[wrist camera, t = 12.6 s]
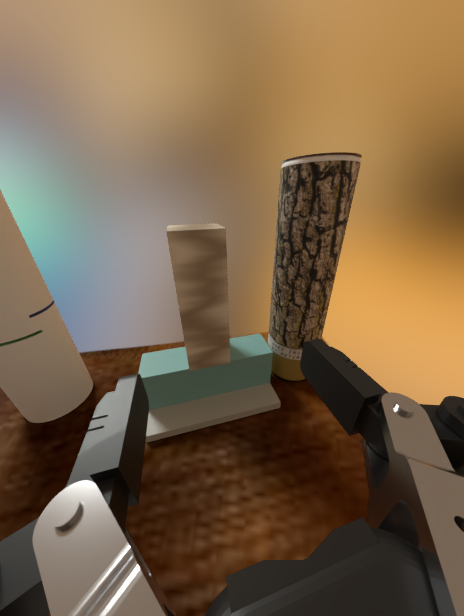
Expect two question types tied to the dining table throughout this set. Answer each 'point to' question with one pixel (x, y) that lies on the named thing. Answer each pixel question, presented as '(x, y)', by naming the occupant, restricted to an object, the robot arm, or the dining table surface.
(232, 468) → the dining table surface
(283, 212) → the bark log cylinder
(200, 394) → the stand
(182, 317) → the ash post
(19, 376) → the cylindrical container
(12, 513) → the dining table surface
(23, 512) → the dining table surface
